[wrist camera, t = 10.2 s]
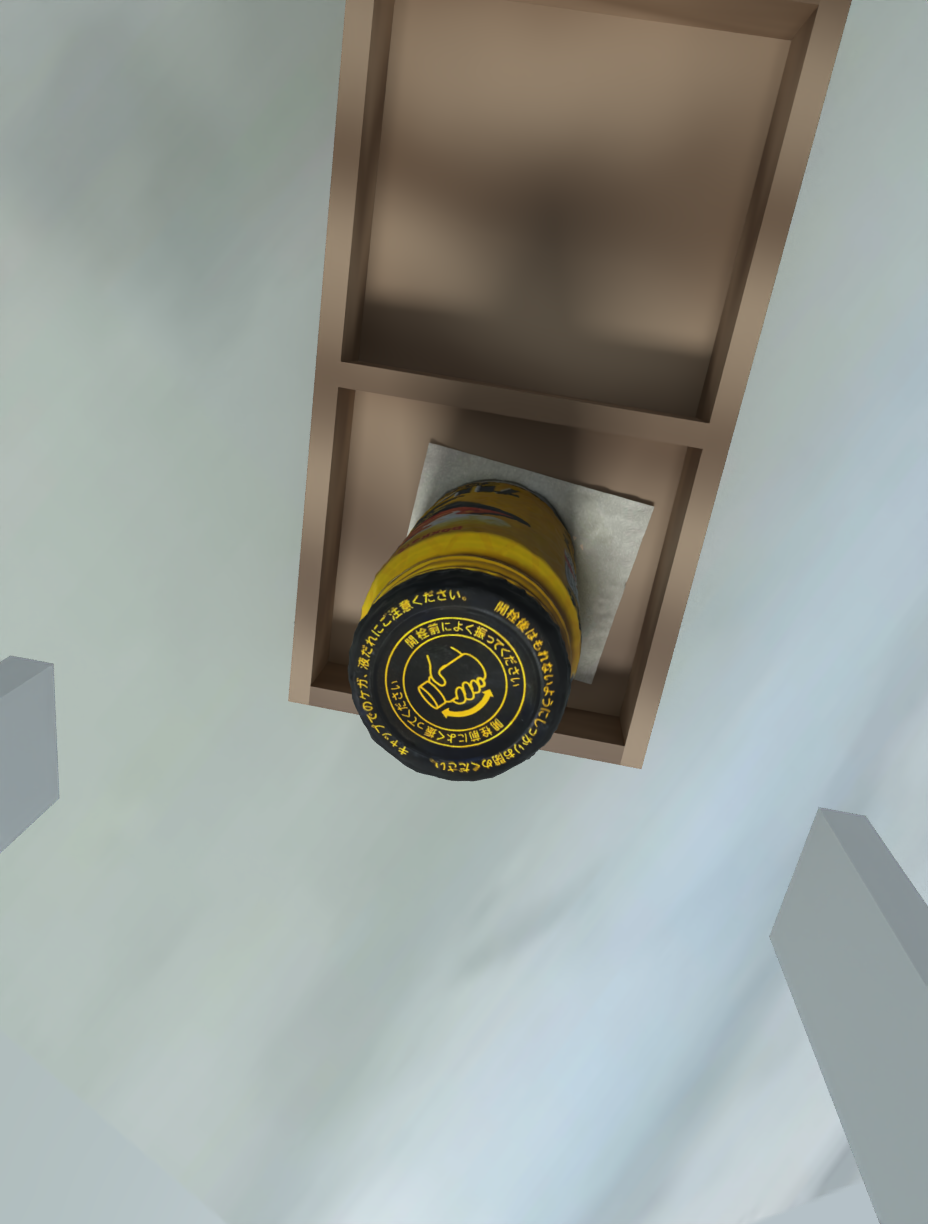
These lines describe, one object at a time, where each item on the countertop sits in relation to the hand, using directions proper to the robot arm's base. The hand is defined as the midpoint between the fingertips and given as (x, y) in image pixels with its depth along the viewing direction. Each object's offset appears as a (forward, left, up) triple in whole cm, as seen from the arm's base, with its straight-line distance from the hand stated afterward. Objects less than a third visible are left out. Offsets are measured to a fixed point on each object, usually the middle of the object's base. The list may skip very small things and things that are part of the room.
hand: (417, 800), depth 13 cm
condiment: (0, +1, -17) cm, 17 cm away
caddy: (-6, 0, -17) cm, 18 cm away
